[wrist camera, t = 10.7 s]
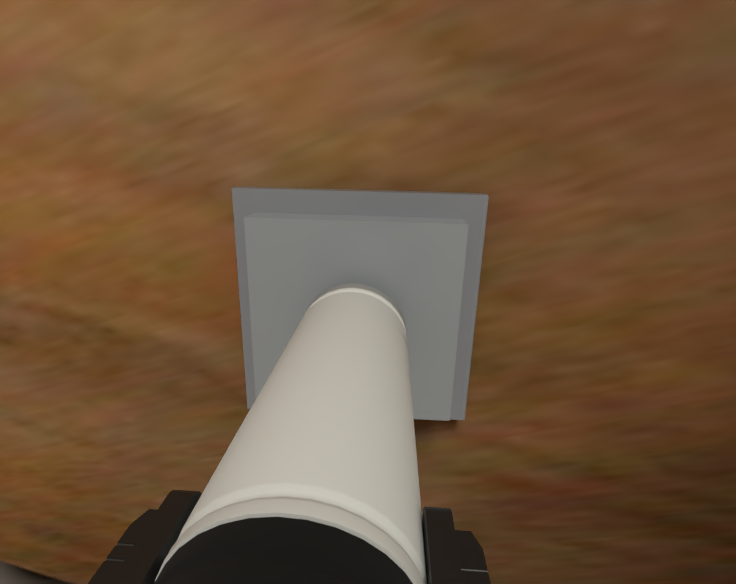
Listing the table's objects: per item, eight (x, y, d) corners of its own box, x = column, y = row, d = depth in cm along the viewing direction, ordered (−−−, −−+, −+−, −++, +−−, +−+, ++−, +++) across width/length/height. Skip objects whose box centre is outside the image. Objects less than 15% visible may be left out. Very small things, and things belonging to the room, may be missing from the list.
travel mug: (432, 327, 25) (564, 877, 6) (356, 395, 27) (267, 995, 7) (355, 255, 24) (209, 640, 5) (282, 331, 25) (-44, 840, 6)
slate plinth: (240, 186, 28) (216, 190, 24) (483, 193, 27) (498, 198, 23) (254, 397, 32) (236, 428, 29) (460, 407, 32) (470, 441, 28)
